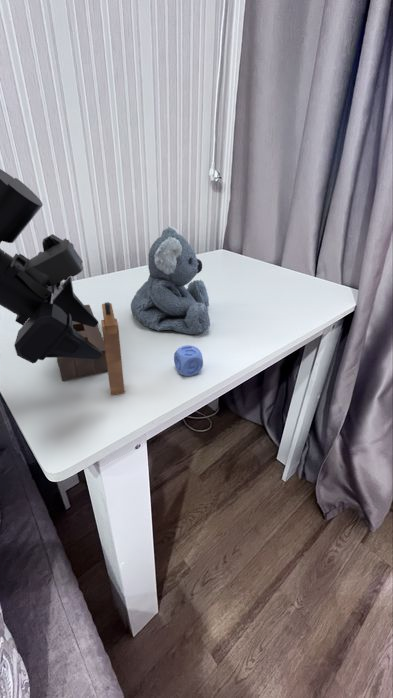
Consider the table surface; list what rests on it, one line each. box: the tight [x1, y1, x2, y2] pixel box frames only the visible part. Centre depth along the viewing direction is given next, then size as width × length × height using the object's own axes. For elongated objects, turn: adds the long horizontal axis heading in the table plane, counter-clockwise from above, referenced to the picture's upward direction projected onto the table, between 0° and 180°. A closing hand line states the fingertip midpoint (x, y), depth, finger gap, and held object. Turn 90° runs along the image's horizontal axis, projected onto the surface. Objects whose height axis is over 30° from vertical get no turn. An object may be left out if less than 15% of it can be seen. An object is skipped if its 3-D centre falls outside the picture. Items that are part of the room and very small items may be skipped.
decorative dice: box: [173, 344, 204, 377], centre depth 58 cm, size 4×4×4 cm
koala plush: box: [130, 226, 211, 335], centre depth 71 cm, size 17×18×20 cm
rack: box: [56, 304, 108, 382], centre depth 63 cm, size 8×19×4 cm, turn 24°
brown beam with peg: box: [100, 301, 126, 396], centre depth 50 cm, size 2×7×16 cm, turn 17°
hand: (98, 339), depth 48 cm, fingers open, 9 cm apart
